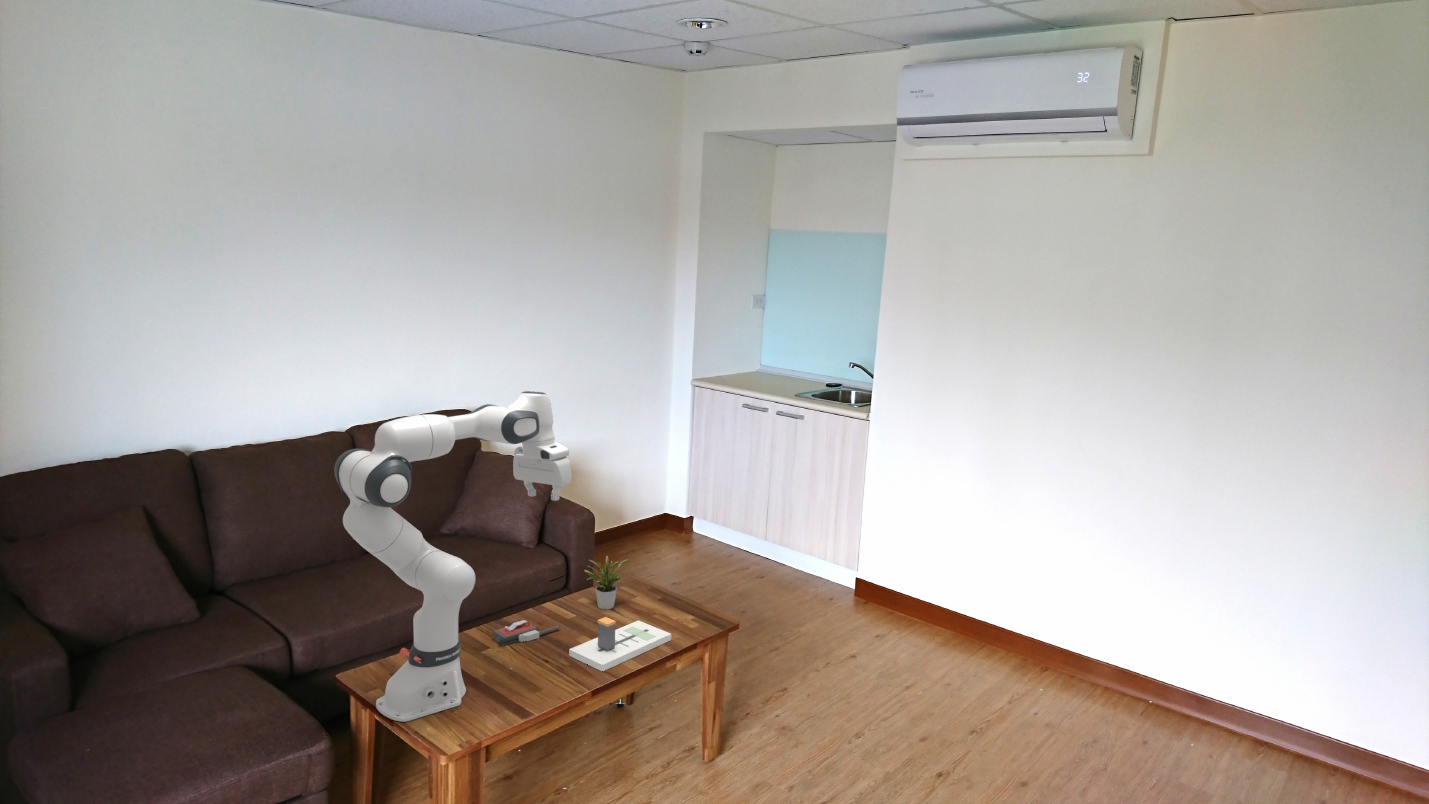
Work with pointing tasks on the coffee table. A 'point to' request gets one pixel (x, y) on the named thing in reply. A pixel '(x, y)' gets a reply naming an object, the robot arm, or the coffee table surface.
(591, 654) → the console
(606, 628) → the fader knob
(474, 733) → the coffee table surface
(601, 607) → the house plant
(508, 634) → the red and grey tool
